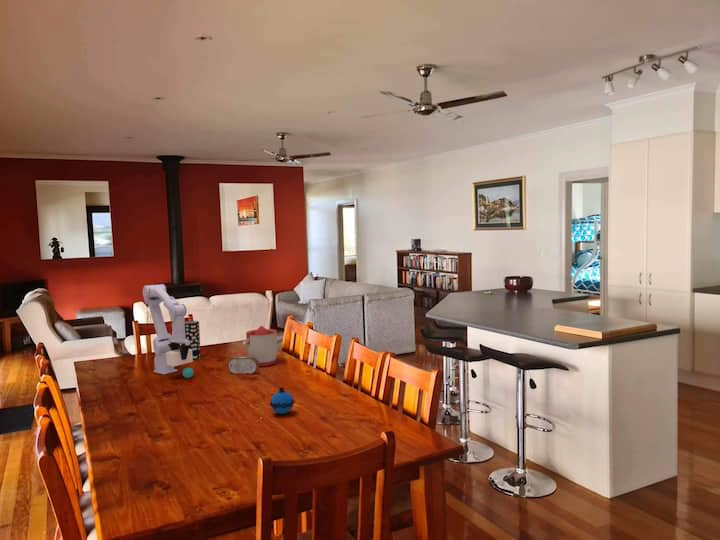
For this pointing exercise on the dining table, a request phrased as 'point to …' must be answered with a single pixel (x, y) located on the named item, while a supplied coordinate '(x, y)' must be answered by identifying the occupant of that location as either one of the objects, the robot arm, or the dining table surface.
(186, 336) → the white-spotted black cylinder
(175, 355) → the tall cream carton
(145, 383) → the dining table surface
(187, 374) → the ball
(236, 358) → the tin
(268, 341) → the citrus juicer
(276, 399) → the ornament
